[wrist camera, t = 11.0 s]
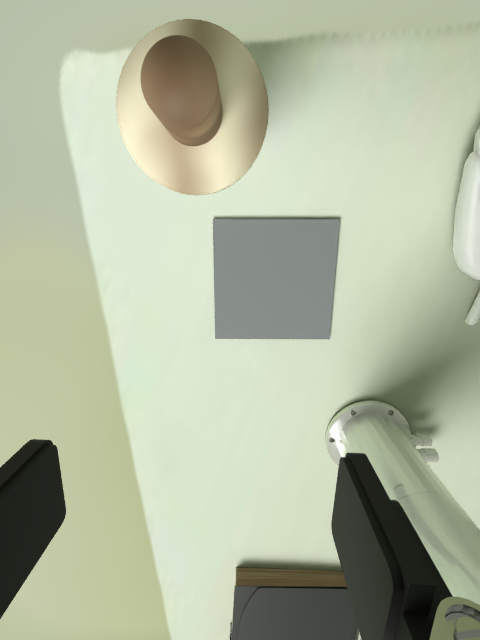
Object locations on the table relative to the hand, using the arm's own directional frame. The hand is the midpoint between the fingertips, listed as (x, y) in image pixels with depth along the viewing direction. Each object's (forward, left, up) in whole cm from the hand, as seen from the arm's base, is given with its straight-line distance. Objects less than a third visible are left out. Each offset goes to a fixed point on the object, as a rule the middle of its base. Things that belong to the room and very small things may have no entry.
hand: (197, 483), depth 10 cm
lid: (+2, -16, -19) cm, 25 cm away
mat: (-6, -1, -34) cm, 34 cm away
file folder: (-11, +68, -35) cm, 77 cm away
